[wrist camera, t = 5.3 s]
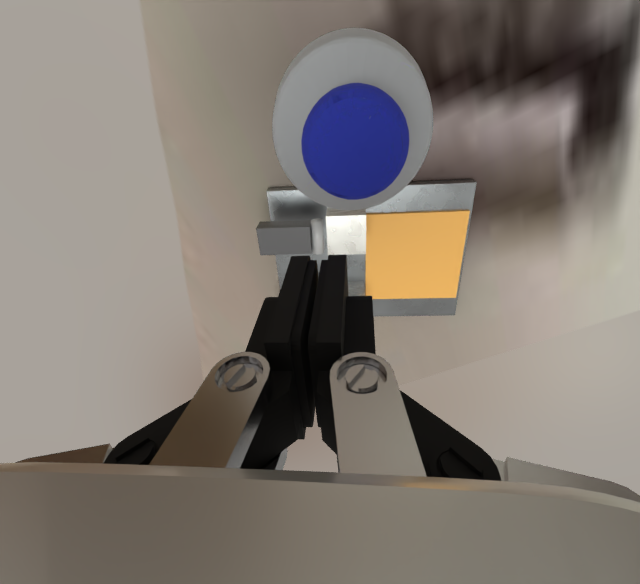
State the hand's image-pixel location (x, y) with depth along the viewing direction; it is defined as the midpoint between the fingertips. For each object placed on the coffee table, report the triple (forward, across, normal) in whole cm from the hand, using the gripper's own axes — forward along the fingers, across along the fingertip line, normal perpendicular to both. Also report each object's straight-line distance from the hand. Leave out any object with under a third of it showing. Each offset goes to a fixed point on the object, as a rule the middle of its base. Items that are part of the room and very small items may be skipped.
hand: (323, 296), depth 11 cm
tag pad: (+20, -6, +10) cm, 23 cm away
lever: (+17, +4, +5) cm, 18 cm away
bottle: (+22, 0, -3) cm, 22 cm away
